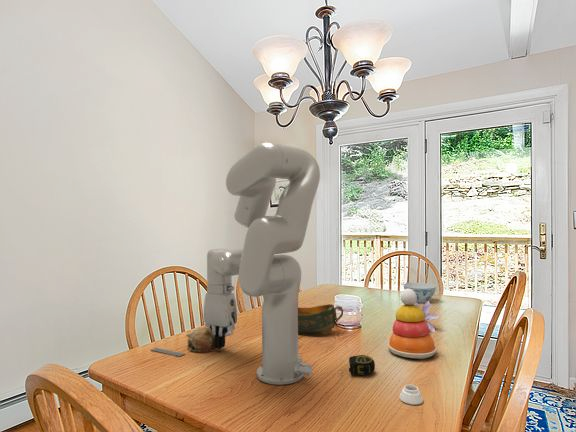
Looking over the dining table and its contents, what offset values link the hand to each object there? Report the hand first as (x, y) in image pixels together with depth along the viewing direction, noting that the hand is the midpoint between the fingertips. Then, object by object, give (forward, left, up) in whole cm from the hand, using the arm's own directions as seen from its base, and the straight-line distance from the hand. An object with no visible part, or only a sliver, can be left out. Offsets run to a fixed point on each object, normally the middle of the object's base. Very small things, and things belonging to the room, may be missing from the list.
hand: (219, 347), depth 114 cm
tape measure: (-44, -3, -2) cm, 44 cm away
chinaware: (-48, -96, -1) cm, 107 cm away
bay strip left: (+14, +8, -1) cm, 16 cm away
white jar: (-58, +6, -2) cm, 58 cm away
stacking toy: (-54, -24, -2) cm, 59 cm away
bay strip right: (+14, -8, -1) cm, 16 cm away
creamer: (-19, -29, -2) cm, 35 cm away
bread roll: (+7, -1, -2) cm, 7 cm away
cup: (+10, -15, -1) cm, 18 cm away
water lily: (-53, -50, -2) cm, 73 cm away
